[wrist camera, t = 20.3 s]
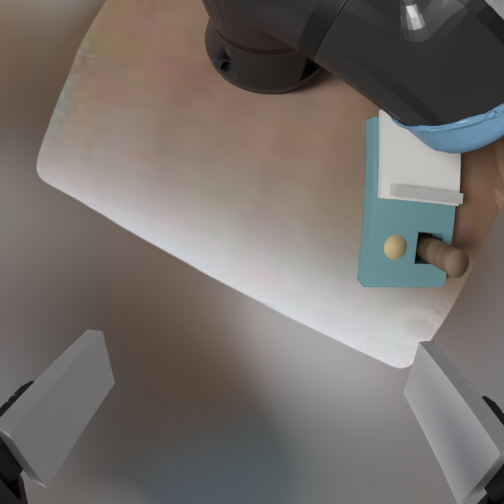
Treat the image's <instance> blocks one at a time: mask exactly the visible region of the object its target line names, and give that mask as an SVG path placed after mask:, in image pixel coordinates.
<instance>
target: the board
mask: <svg viewBox="0 0 504 504" xmlns="http://www.w3.org/2000/svg"><path fill="white" fill-rule="evenodd" d="M378 180H379V117H373V118H371V119H369V120H367V121H366V172H365V196H364V213H363V227H362V239H361V249H360V259H359V268H358V277H357V279H358V281H359V282H360V283H361V284H362V285H363V287H437V286H444V285H445V280H446V274H447V273H445V272H444V271H442V270H440V269H439V268H437V267H435V266H434V265H432V264H430V263H429V262H427V261H425V260H424V259H422V258H415V254H416V246H417V238H418V232H427V233H432V237H433V238H435V239H437V240H440V241H442V242H444V243H447V244H449V245H451V243H452V235H453V226H454V217H455V206H452V205H444V204H435V203H426V202H417V201H407V200H396V199H385V198H378Z"/></svg>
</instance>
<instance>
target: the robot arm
mask: <svg viewBox="0 0 504 504" xmlns="http://www.w3.org/2000/svg"><path fill="white" fill-rule="evenodd" d="M202 2H203V4H204V6H205V8H206V11H207V13H208V15H209V21H208V24H207V27H206V32H205V45H206V50H207V53H208V56H209V58H210V60H211V62H212V64H213V66H214V67H215V69H216V70H217V71H218V73H219V74H220V75H221V76H222V77H223V78H224V79H226V80H227V81H228V82H230V83H231V84H233V85H235V86H237V87H239V88H241V89H244V90H247V91H250V92H254V93H260V94H280V93H286V92H290V91H293V90H296V89H298V88H301V87H303V86H304V85H306V84H308V83H309V82H311V81H312V80H313V79H314V78H315V77H316V76H317V75H318V74H319V73H320V72H321V70H322V69H323V68H325V69H326V70H328V71H329V72H331V73H332V74H334V75H335V76H337V77H338V78H340V79H341V80H343V81H344V82H345V83H347V84H348V85H350V86H351V87H353V88H354V89H355V90H357V91H358V92H359V93H361V94H362V95H363V96H365V97H366V98H367V99H369V100H370V101H371V102H373V103H374V104H375V105H377V106H378V107H379V108H380V109H382V110H383V111H384V112H385V113H387V114H388V115H389V116H390V117H391V119H392V121H393V122H395V123H396V124H397V125H398V126H400V127H402V128H404V129H407V130H408V131H410V132H411V133H412V134H413V135H415V136H416V137H417V138H418V139H419V140H421V141H422V142H423V143H424V144H425V145H427V146H428V147H430V148H432V149H434V150H436V151H443V152H446V153H451V154H455V153H465V152H470V151H473V150H476V149H479V148H482V147H484V146H486V145H488V144H490V143H492V142H494V141H496V140H497V139H499V138H501V137H502V136H503V135H504V0H202ZM114 383H115V382H114V378H113V375H112V370H111V366H110V362H109V358H108V354H107V349H106V345H105V341H104V336H103V332H102V331H96V330H89V329H88V330H87V331H86V332H85V333H84V334H83V335H82V336H81V337H79V338H78V339H77V341H75V342H74V343H73V344H72V345H71V346H70V347H69V348H68V349H67V350H66V351H65V352H64V353H63V354H62V355H61V356H60V357H59V358H58V359H57V360H56V361H55V362H54V363H53V364H52V365H51V366H50V367H49V368H48V369H47V370H46V371H45V372H44V373H43V374H42V375H41V376H40V377H39V378H38V379H37V380H36V381H30V382H29V383H27V384H25V385H23V386H21V387H20V388H19V389H18V390H17V391H16V392H15V393H14V396H11V397H10V398H9V400H8V402H6V403H5V404H4V405H3V406H2V407H1V408H0V504H28V502H27V498H26V493H25V488H24V482H23V479H22V477H21V475H20V473H21V472H22V470H24V471H25V473H26V474H27V475H28V477H29V478H30V479H31V480H33V481H35V482H37V483H38V484H40V485H43V486H44V487H46V488H47V487H48V485H49V483H50V482H51V480H52V479H53V477H54V475H55V474H56V472H57V471H58V469H59V467H60V466H61V464H62V463H63V461H64V459H65V458H66V456H67V455H68V453H69V452H70V450H71V448H72V447H73V445H74V444H75V442H76V441H77V439H78V437H79V436H80V434H81V433H82V431H83V430H84V428H85V427H86V425H87V424H88V422H89V421H90V419H91V418H92V416H93V414H94V413H95V412H96V410H97V409H98V407H99V406H100V404H101V403H102V401H103V400H104V398H105V397H106V395H107V394H108V392H109V391H110V389H111V388H112V386H113V385H114ZM403 394H404V396H405V397H406V399H407V401H408V403H409V405H410V407H411V409H412V410H413V412H414V414H415V416H416V418H417V420H418V422H419V424H420V426H421V428H422V430H423V432H424V434H425V436H426V438H427V440H428V441H429V443H430V446H431V448H432V449H433V452H434V454H435V456H436V458H437V460H438V462H439V464H440V466H441V468H442V470H443V472H444V474H445V477H446V479H447V481H448V483H449V485H450V488H451V490H452V492H453V494H454V496H455V499H456V501H457V503H458V504H463V503H465V502H467V501H469V500H472V499H474V498H476V497H477V495H478V494H479V493H480V492H481V491H482V490H483V489H484V488H485V490H486V492H487V494H486V495H485V496H484V497H483V498H482V499H481V500H480V501H479V502H478V503H477V504H504V413H502V411H501V409H500V408H499V407H498V406H497V404H496V403H495V402H494V401H492V400H490V399H489V398H487V397H486V396H484V397H481V396H480V395H479V394H478V392H477V391H476V390H475V389H474V387H473V386H472V385H471V383H470V382H469V381H468V380H467V379H466V378H465V376H464V375H463V374H462V373H461V372H460V370H459V369H458V368H457V367H456V366H455V364H454V363H453V362H452V361H451V360H450V358H449V357H448V356H447V355H446V354H445V353H444V352H443V350H442V349H441V348H440V347H439V346H438V345H437V344H436V342H435V341H424V342H419V345H418V348H417V352H416V355H415V359H414V362H413V365H412V368H411V371H410V375H409V378H408V381H407V384H406V386H405V390H404V392H403Z"/></svg>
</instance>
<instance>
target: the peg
mask: <svg viewBox="0 0 504 504" xmlns="http://www.w3.org/2000/svg"><path fill="white" fill-rule="evenodd" d="M415 255H417V256H418V257H420V258H422V259H424V260H425V261H427V262H429V263H430V264H432V265H434V266H435V267H437V268H439V269H440V270H442V271H444V272H445V273H447V274H449V275H450V276H452V277H454V278H458V277H461V276H462V275H463V274H464V273H465V272H466V270H467V268H468V264H469V258H468V255H467V253H466V252H465V251H463V250H460V249H458V248H456V247H454V246H451V245H449V244H447V243H444V242H442V241H440V240H437V239H435V238H433V237H430V236H428V235H425V234H423V233H418V238H417V246H416V254H415Z"/></svg>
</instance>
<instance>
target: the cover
mask: <svg viewBox="0 0 504 504" xmlns="http://www.w3.org/2000/svg"><path fill="white" fill-rule="evenodd" d="M460 166H461V153H455V154H451V153H446V152H443V151H436V150H434V149H432V148H430V147H428V146H427V145H425V144H424V143H423V142H422V141H421V140H419V139H418V138H417V137H416V136H415V135H413V134H412V133H411V132H410V131H408V130H407V129H404V128H402V127H400V126H398V125H397V124H396V123H395V122H393V121H392V119H391V117H390V116H389V115H388V114H387V113H385V112H384V111H383V110H382V109H381V110H380V111H379V180H378V198H385V199H396V200H407V201H417V202H426V203H435V204H444V205H452V206H459V204H463V194H461V193H459V191H460Z"/></svg>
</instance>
